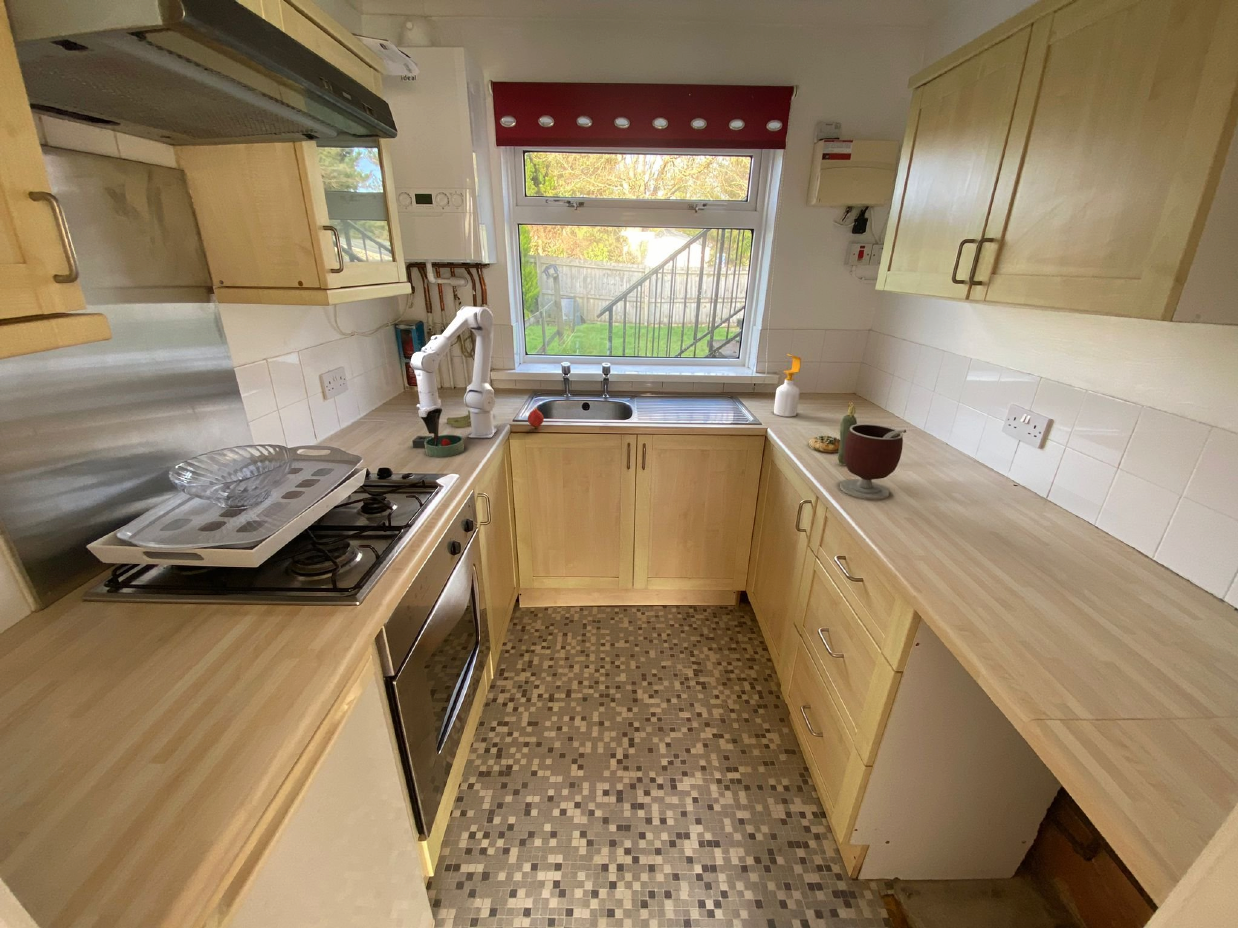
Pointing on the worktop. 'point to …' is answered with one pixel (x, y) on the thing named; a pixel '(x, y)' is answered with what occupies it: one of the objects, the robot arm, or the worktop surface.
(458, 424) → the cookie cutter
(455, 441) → the bowl
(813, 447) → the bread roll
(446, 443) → the ball
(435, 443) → the stick
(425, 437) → the holder
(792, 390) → the soap bottle
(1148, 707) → the worktop surface
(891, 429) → the mate gourd
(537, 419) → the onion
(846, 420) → the vegetable
